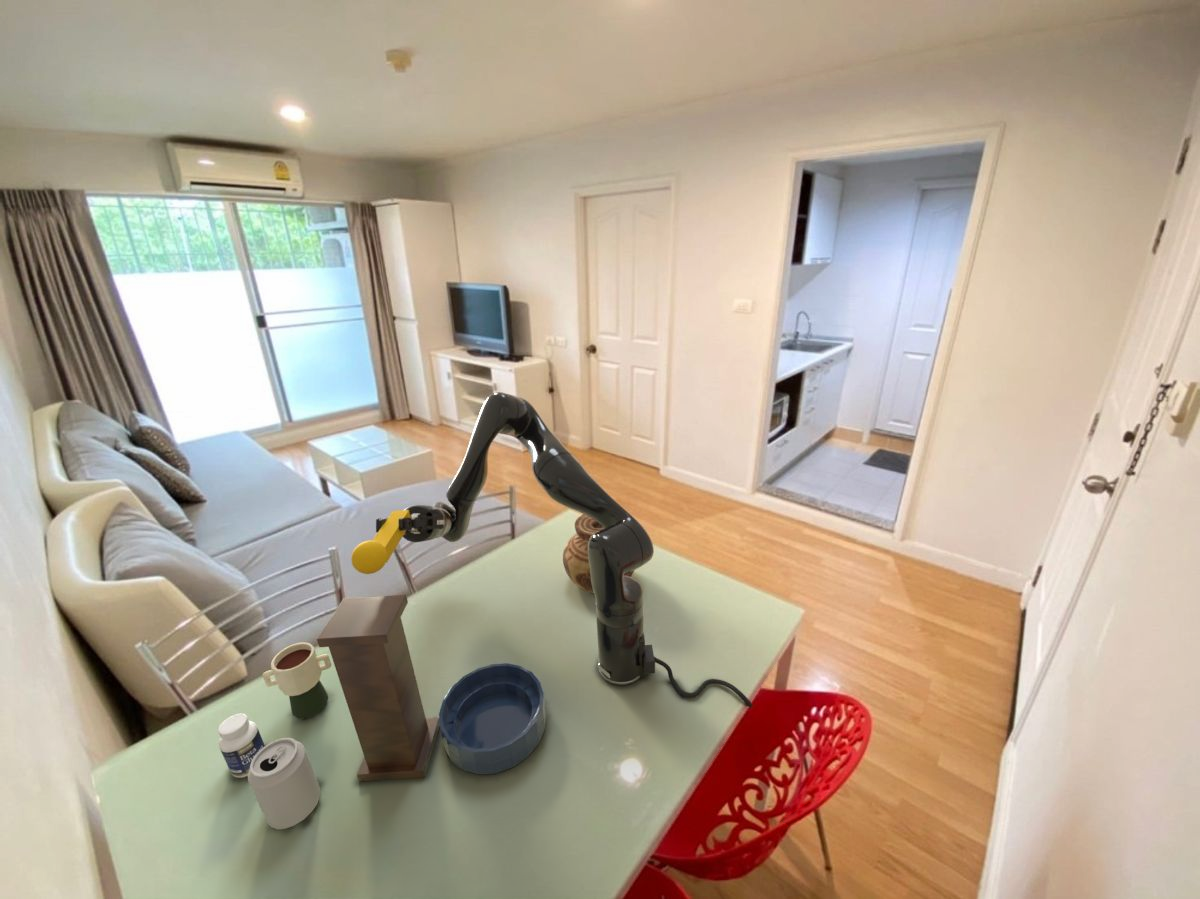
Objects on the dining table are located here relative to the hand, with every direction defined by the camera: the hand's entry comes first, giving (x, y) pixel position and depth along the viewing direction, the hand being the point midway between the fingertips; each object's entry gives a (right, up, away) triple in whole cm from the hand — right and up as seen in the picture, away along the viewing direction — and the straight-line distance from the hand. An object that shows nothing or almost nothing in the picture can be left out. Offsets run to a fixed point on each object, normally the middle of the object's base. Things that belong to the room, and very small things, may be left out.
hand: (390, 524), depth 87 cm
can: (-11, -44, -8) cm, 46 cm away
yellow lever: (0, -4, -2) cm, 4 cm away
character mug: (-19, -37, +9) cm, 43 cm away
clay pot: (+37, -21, +42) cm, 60 cm away
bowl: (+18, -38, +3) cm, 42 cm away
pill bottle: (-24, -41, -1) cm, 48 cm away
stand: (+2, -40, 0) cm, 40 cm away
